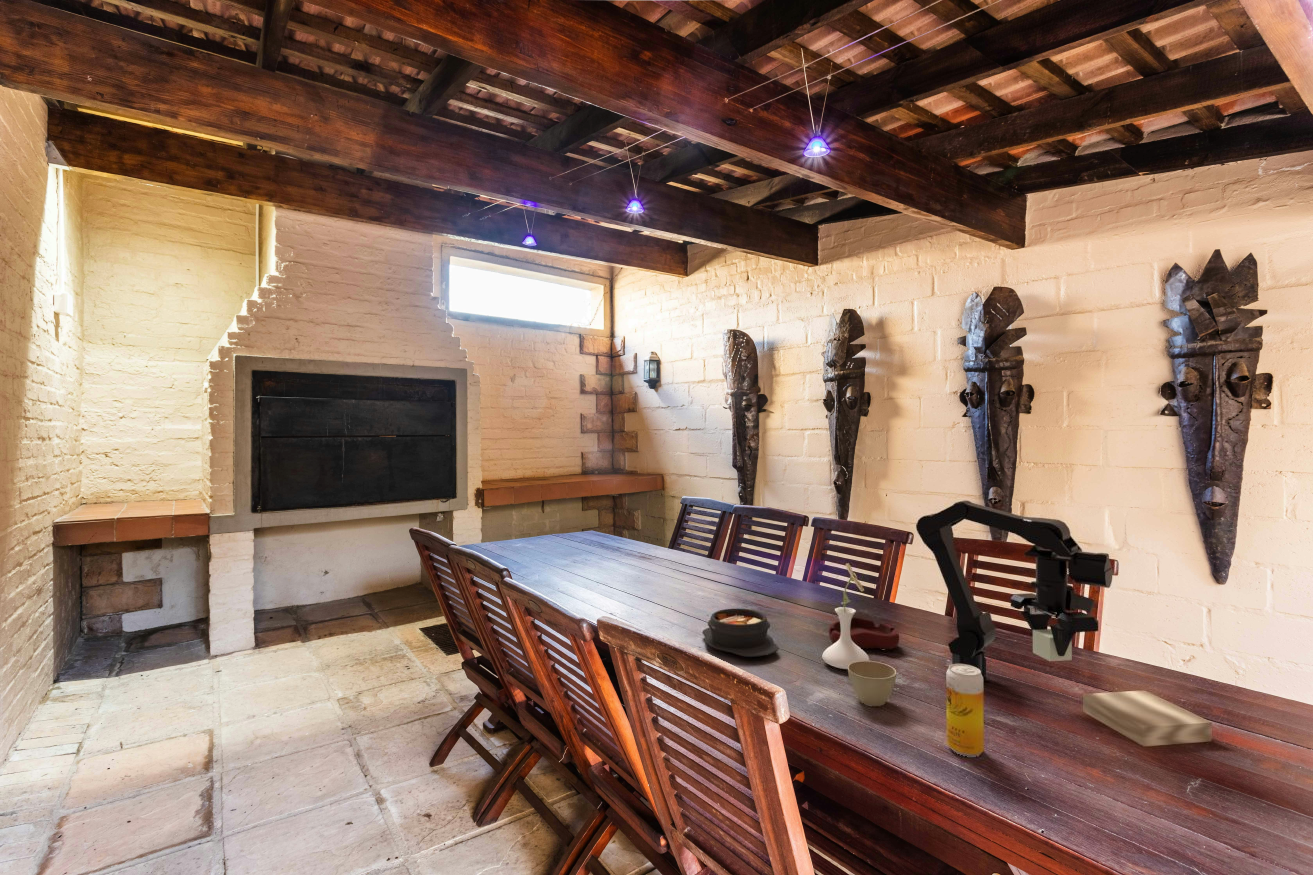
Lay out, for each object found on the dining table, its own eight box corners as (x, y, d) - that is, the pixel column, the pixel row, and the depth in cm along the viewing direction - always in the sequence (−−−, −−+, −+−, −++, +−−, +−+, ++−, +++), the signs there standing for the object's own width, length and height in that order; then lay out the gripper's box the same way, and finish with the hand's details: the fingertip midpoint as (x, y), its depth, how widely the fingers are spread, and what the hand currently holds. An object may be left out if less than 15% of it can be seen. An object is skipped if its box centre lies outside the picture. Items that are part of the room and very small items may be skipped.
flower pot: (895, 694, 136) (895, 662, 136) (897, 715, 126) (897, 680, 126) (848, 689, 139) (848, 657, 139) (847, 708, 130) (846, 675, 130)
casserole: (687, 638, 174) (686, 608, 174) (741, 627, 182) (741, 599, 182) (735, 669, 152) (735, 635, 152) (795, 655, 160) (795, 623, 160)
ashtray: (886, 633, 176) (886, 616, 176) (903, 655, 160) (903, 636, 159) (822, 632, 178) (822, 615, 178) (833, 653, 161) (833, 634, 161)
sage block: (1049, 661, 129) (1049, 637, 129) (1032, 652, 134) (1032, 629, 134) (1071, 659, 129) (1071, 636, 129) (1054, 651, 134) (1053, 628, 134)
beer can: (940, 742, 116) (939, 663, 115) (970, 740, 116) (970, 661, 116) (958, 759, 109) (958, 676, 109) (991, 757, 110) (990, 674, 110)
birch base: (1143, 748, 113) (1143, 727, 113) (1083, 713, 127) (1083, 694, 127) (1211, 743, 115) (1211, 722, 114) (1144, 709, 128) (1144, 690, 128)
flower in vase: (864, 677, 145) (863, 572, 145) (816, 668, 151) (815, 567, 151) (875, 659, 157) (874, 561, 156) (830, 651, 162) (829, 557, 162)
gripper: (1123, 588, 123) (1123, 666, 123) (1053, 567, 141) (1054, 634, 142) (1072, 591, 122) (1072, 669, 122) (1008, 569, 140) (1009, 637, 140)
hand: (1051, 651), depth 131 cm, fingers closed on sage block, 5 cm apart
